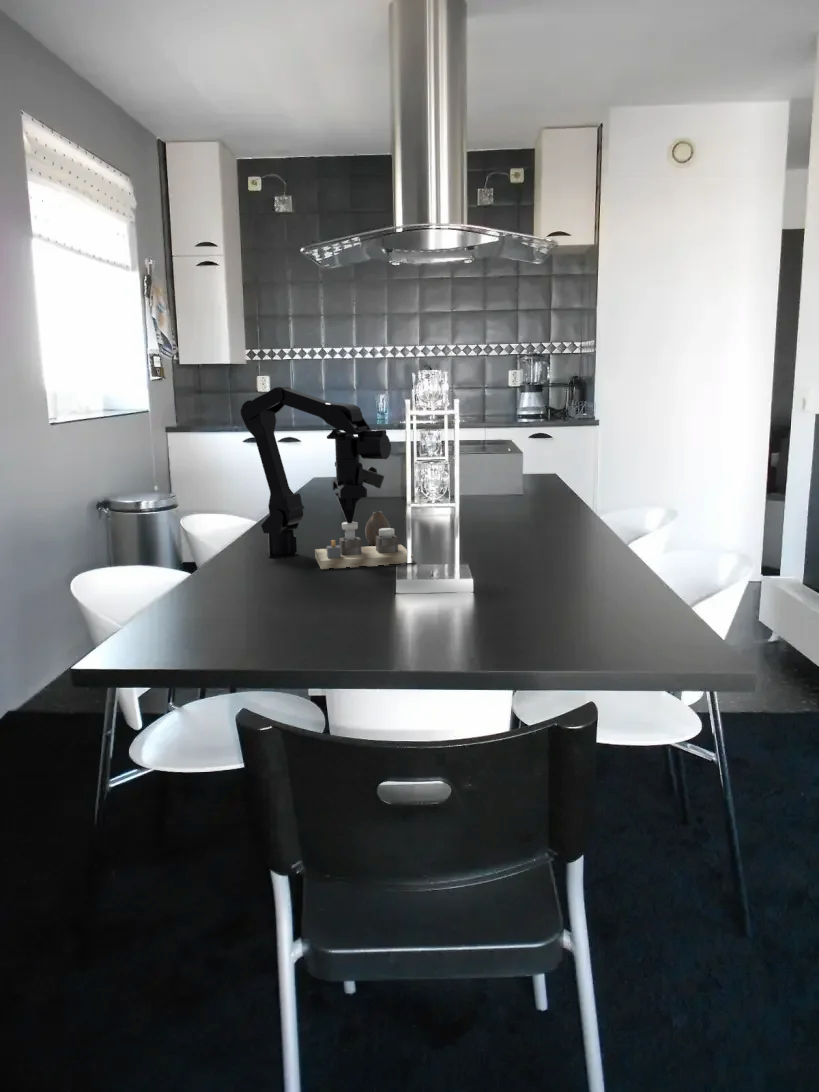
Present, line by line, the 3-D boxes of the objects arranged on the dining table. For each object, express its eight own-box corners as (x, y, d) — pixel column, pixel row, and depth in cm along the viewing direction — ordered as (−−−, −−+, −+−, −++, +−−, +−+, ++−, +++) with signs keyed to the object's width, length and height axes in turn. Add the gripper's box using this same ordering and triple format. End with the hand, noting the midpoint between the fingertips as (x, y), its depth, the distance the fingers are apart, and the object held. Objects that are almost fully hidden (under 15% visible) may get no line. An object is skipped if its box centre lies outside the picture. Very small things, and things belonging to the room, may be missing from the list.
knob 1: (343, 544, 198) (342, 524, 197) (341, 541, 202) (340, 522, 201) (359, 543, 199) (358, 523, 198) (356, 541, 203) (356, 521, 202)
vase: (380, 548, 217) (379, 515, 215) (360, 545, 221) (359, 512, 219) (396, 543, 222) (395, 511, 221) (376, 541, 226) (375, 509, 225)
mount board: (320, 569, 193) (320, 546, 192) (315, 557, 207) (314, 535, 206) (413, 563, 197) (412, 541, 196) (401, 552, 211) (401, 531, 210)
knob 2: (380, 550, 201) (380, 531, 200) (378, 547, 204) (377, 528, 203) (396, 550, 201) (395, 530, 200) (393, 547, 205) (392, 527, 204)
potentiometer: (328, 558, 195) (327, 542, 194) (326, 556, 198) (326, 539, 197) (340, 557, 196) (340, 541, 195) (339, 555, 199) (338, 539, 198)
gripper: (388, 460, 189) (389, 527, 192) (374, 454, 207) (376, 515, 210) (339, 462, 187) (341, 530, 190) (330, 455, 205) (332, 517, 208)
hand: (349, 522), depth 200 cm, fingers closed, pressing on knob 1
